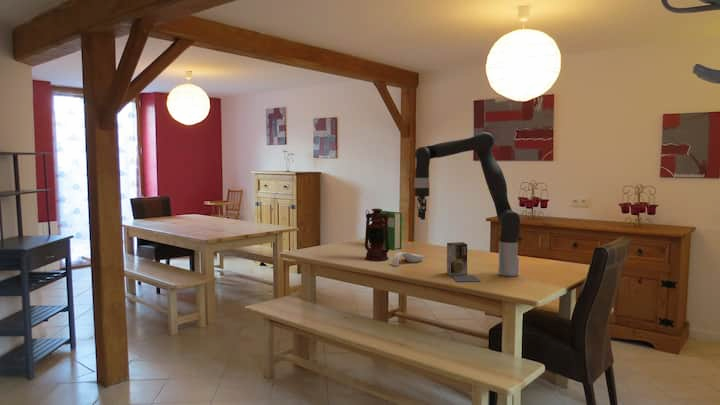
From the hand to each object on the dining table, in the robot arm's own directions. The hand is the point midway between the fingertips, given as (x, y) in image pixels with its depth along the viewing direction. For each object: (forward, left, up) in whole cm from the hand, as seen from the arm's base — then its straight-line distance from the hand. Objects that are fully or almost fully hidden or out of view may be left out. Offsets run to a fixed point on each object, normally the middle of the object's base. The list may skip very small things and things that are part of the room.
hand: (421, 218), depth 253 cm
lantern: (+20, -41, -30) cm, 54 cm away
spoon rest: (+3, -30, -30) cm, 42 cm away
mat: (-21, +9, -29) cm, 37 cm away
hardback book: (+10, -78, -30) cm, 84 cm away
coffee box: (-19, -2, -30) cm, 35 cm away
